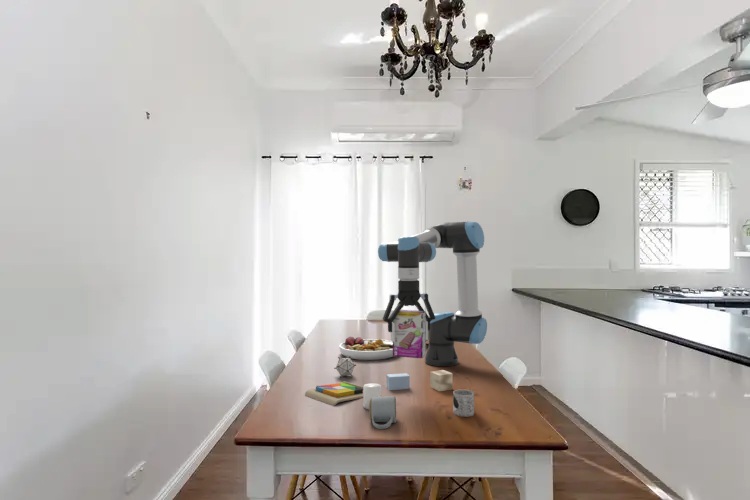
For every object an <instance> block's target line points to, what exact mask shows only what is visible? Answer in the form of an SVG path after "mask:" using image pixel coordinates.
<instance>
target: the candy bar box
mask: <svg viewBox="0 0 750 500" xmlns="http://www.w3.org/2000/svg"><path fill="white" fill-rule="evenodd" d="M393 312H394V310H392V313H393ZM426 314H427V312H426V310H424V311H419V310H415V309H414V310H411V309H410V310H409V309H401V310H400V312H399V313H398V315H397V316H396V318H395V319H394V321H393V323H395V342H393V357H399V358H400V357H401V358H411V359H423V358H425V356H426V353H427V350H426V342H425V336H426V335H425V333H426V332H425V327H426V326H425V322H426V321H425V320H426Z"/></svg>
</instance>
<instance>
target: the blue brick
mask: <svg viewBox="0 0 750 500" xmlns="http://www.w3.org/2000/svg"><path fill="white" fill-rule="evenodd" d="M410 378H411V377H410V375H409V374H408V373H407V372H405V373H404V372H403V373H390V374H388V373H387V374H386V388H387V390H388V391H396V390H397V391H398V390H399V391H400V390H409V389H410V388H411V387H410V384H411V383H410V382H411V381H410V380H411V379H410Z"/></svg>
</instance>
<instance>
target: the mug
mask: <svg viewBox="0 0 750 500" xmlns="http://www.w3.org/2000/svg"><path fill="white" fill-rule="evenodd" d="M452 392H453V393H452V395H453V396H452V398H453V399H452V400H453V401H452V403H453V404H452V405H453V406H452V407H453V408H452V409H453V410H452V412H453V414H454V415H455V416H458V417H464V418H466V417H472V416H474V415H475V392H474V391H473V390H471V389H470V390H469V389H456V390H453V391H452Z"/></svg>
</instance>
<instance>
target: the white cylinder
mask: <svg viewBox="0 0 750 500" xmlns="http://www.w3.org/2000/svg"><path fill="white" fill-rule="evenodd" d="M363 387H364V390H363V398H362V399H363V403H362V405H363V409H366V410H369V401H370V399H371V398H374V397H382V385H381V384H380V383H374V382H373V383H371V382H370V383H365V384H363Z"/></svg>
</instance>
